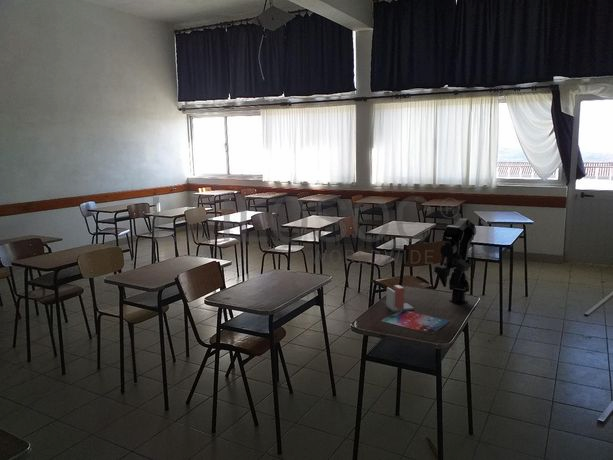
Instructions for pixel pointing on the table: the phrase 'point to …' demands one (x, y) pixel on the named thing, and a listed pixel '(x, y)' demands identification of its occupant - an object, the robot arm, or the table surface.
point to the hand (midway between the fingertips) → (450, 285)
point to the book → (399, 296)
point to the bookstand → (391, 302)
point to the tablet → (416, 321)
